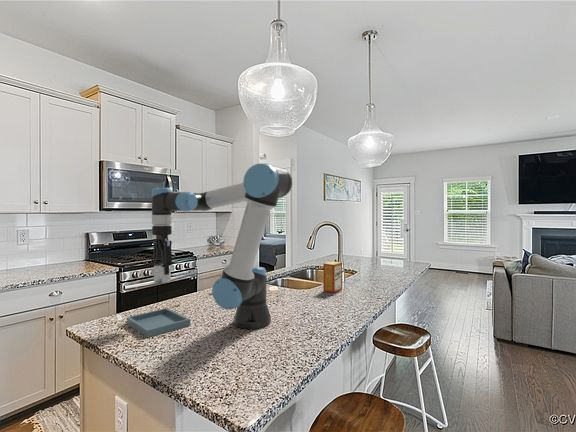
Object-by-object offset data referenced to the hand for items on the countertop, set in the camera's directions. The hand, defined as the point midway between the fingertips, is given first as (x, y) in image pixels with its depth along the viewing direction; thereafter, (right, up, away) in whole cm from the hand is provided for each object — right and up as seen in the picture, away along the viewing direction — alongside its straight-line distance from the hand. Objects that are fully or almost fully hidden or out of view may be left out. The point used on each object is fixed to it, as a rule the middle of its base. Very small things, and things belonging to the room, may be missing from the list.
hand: (162, 280), depth 134 cm
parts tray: (-1, -17, -3) cm, 18 cm away
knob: (0, 0, 0) cm, 0 cm away
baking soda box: (+78, -16, +49) cm, 93 cm away
